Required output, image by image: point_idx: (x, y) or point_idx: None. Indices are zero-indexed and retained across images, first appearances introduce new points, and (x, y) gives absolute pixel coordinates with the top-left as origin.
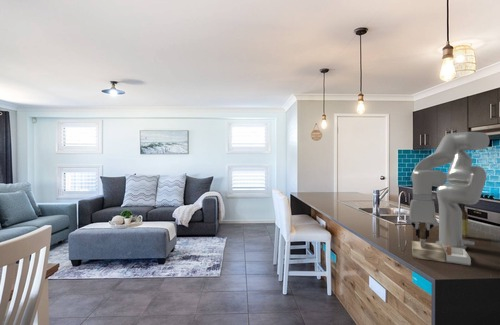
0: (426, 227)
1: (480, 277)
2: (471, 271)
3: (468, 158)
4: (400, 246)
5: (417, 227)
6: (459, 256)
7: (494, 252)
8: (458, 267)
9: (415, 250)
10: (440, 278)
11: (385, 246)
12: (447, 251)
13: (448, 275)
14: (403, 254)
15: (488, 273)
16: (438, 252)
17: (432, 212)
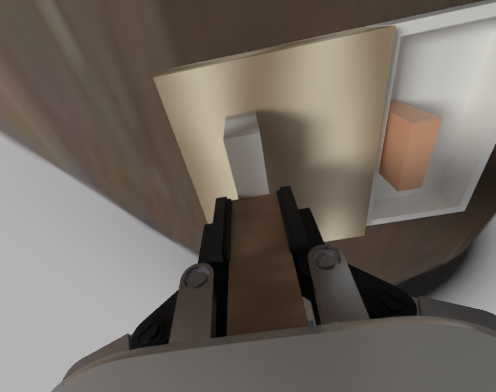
0: (310, 279)
1: (414, 273)
2: (410, 245)
3: None
4: (81, 43)
5: (222, 317)
6: (420, 212)
7: None
8: (379, 233)
9: None
10: (311, 319)
11: (24, 121)
12: (385, 177)
13: None
14: (177, 207)
15: (461, 234)
16: (332, 237)
17: None
